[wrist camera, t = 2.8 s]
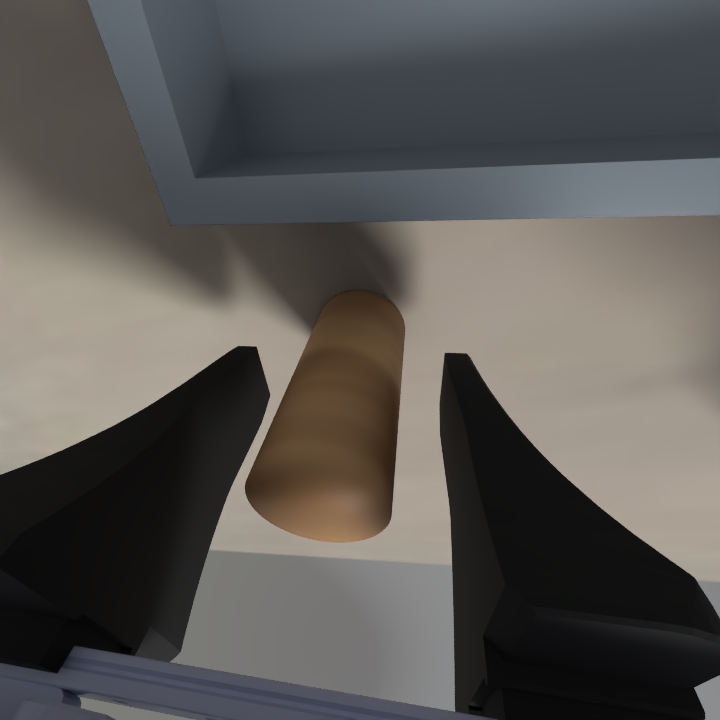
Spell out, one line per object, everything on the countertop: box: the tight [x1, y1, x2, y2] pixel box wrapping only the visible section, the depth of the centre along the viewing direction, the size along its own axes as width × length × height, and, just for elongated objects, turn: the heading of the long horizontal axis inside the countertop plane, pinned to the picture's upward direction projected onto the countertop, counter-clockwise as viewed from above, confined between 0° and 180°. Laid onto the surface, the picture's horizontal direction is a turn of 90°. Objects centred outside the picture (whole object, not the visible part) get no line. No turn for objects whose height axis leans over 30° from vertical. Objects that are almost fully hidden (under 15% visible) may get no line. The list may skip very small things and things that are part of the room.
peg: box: [245, 290, 405, 542], centre depth 11 cm, size 3×3×7 cm
